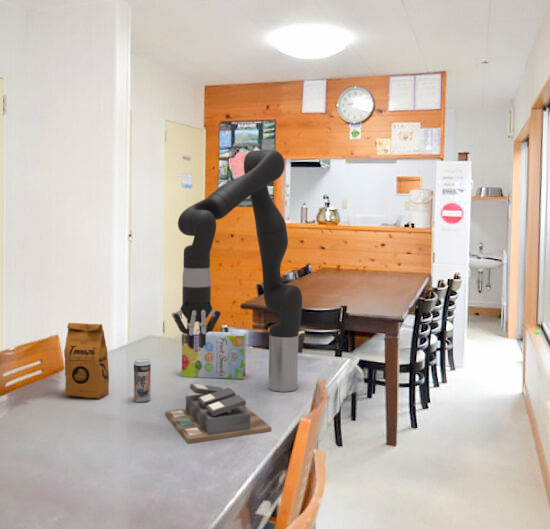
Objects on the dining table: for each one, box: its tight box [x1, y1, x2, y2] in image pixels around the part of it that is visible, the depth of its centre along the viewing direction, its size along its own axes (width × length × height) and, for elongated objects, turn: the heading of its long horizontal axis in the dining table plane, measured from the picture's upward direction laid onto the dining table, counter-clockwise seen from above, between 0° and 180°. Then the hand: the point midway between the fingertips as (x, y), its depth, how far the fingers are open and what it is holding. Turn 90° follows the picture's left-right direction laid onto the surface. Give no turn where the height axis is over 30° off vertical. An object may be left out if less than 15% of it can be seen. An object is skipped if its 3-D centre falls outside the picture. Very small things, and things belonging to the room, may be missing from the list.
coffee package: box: [63, 322, 110, 400], centre depth 181 cm, size 10×12×22 cm
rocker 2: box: [198, 387, 237, 408], centre depth 160 cm, size 5×9×2 cm, turn 115°
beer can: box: [133, 358, 152, 403], centre depth 178 cm, size 5×5×12 cm
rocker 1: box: [189, 383, 224, 395], centre depth 166 cm, size 5×9×2 cm, turn 115°
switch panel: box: [164, 393, 272, 445], centre depth 160 cm, size 22×22×5 cm
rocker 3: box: [206, 394, 247, 416], centre depth 154 cm, size 5×9×2 cm, turn 115°
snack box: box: [181, 330, 247, 380], centre depth 205 cm, size 21×6×15 cm, turn 84°
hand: (196, 347), depth 164 cm, fingers closed
